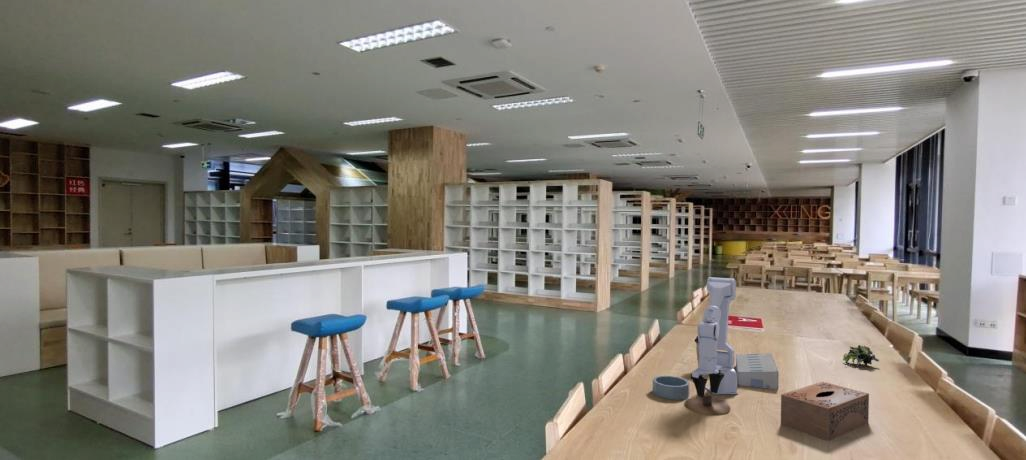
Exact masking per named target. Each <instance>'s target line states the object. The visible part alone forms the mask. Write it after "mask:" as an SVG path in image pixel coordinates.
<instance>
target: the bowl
mask: <svg viewBox="0 0 1026 460" xmlns="http://www.w3.org/2000/svg"><path fill="white" fill-rule="evenodd" d="M652 393H653V395H655V396H657V397H658V396H659V398H662V399H665V400H675V401H676V400H679V401H680V400H685V399H686V400H687V399H689V396H690V381H688V379H685V378H683V377H679V376H673V375H659V376H654V378H653V379H652Z"/></svg>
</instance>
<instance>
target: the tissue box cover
mask: <svg viewBox="0 0 1026 460" xmlns="http://www.w3.org/2000/svg"><path fill="white" fill-rule="evenodd" d="M869 402H870V394H869V393H868V392H864V391H860V390H856V389H853V388H850V387H849V388H848V387H844V386H842V385H836V384H834V383H829V382H825V381H820V382H817V383H814V384H811V385H808V386H804V387H801V388H798V389H794V390H791V391H788V392H785V393H782V394H780V425H782V426H785V427H787V428H790V429H793V430H796V431H799V432H802V433H804V434H807V435H810V436H813V437H816V438H818V439H821V440H824V441H828V442H829V441H831V440H833V439H835V438H837V437H840V436H842V435H845V434H847V433H849V432H851V431H854V430H856V429H859V428H861V427H863V426H865V425H867V424H869V418H870V417H869V415H870V413H869V411H870V410H869V408H870V403H869Z"/></svg>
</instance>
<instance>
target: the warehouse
mask: <svg viewBox="0 0 1026 460" xmlns="http://www.w3.org/2000/svg"><path fill="white" fill-rule="evenodd" d="M735 368H736V374H737V386H744V387H751V388H752V387H754V388H762V389H770V390H777V391H778V390H779V369H778V367H777V364H776V361H775V359H774V357H773V355H772V353H771V352H769V353H737V354H735Z"/></svg>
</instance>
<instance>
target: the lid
mask: <svg viewBox="0 0 1026 460" xmlns="http://www.w3.org/2000/svg"><path fill="white" fill-rule="evenodd" d="M684 405H685V407H686V408H687V409H689V410H690V411H693V412H694V413H698V414H702V415H708V416H709V415H710V416H721V415H723V416H724V415H727V414H729V413H730V412H731V406H730V405H729V403H726V402H724V401H722V400H719V399H716V398H713V396H711V395H708V394H704V397H699V396H697V397H691V398H686V400H685V401H684Z"/></svg>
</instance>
